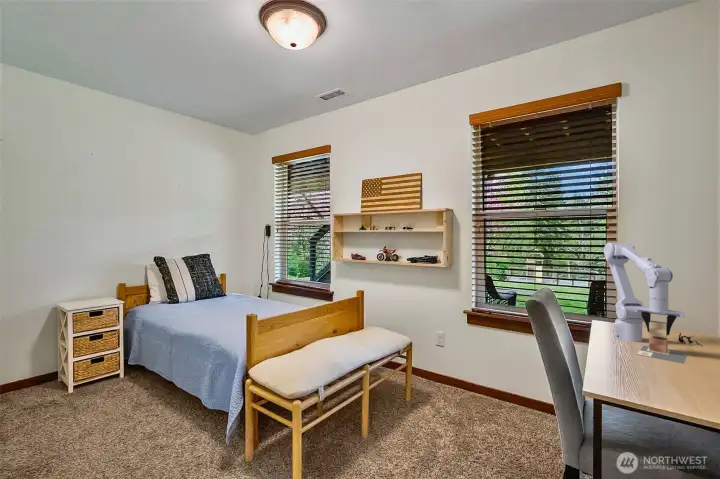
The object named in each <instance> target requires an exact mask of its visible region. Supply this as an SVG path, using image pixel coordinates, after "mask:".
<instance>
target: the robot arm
mask: <svg viewBox="0 0 720 479" xmlns="http://www.w3.org/2000/svg"><path fill="white" fill-rule="evenodd" d="M635 248H636V247H635V245H634V244H633V243H631V242H607V243H606V244H605V245H604V247H603V254H604V257H605V260H606V262H607V263H608V266H609V269H610V272H611V276H612V278H613V282H614V286H615V288H616V291H617V294H618V297H619V300H618V301H617V302H616V303H615V314H616V316H617V318H616V319H615V321H614V339H616V340H623V341H627V342H631V343H642V342H643V323H644V324H645V325H646V329H647V333H649V322H650V321H651V319H652V318H651V317H652V316H651V315H659V316H666V323H667V335H668V336H670V333H671V329H672V326H673V324H674V323H675V321H676V319H677V318H681V319H685V312H684V311H678V310H670V309H669V283H670V282H672V281H673V277H674V276H673V271H672V270H671V269H670V268H669V267H666V266H665V267H663V266H660V264H658V263H657V262H655V261H654V260H652V258H651V257H650V256H649V257H647V256H642V255H641V254H640V253H639V252H638V251H637V250H636V249H635ZM629 260H630V261H631V262H633V263H635V267H636V268H637V269H638V271H639V270H640V272H642V273H643V274H644V276H645V279H646V281H647V282H646V283H647V286H648V307H645V305H644V303H643V302H642V301H641V300H639V299H638V298H636V296H635V294H634V291H633V287H632V286H631V283H630V279H629V277H628V274H627V271H626V269H625V266H624V265H625V264H626V263H628V262H629Z"/></svg>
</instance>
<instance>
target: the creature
mask: <svg viewBox="0 0 720 479" xmlns="http://www.w3.org/2000/svg"><path fill="white" fill-rule="evenodd" d="M694 336H695V334H694V335H692V336H686V335H683V336H682V333H681V332H679V334H678V339H677V340H678V342H680V343H681V344H684V345H686V341H685V340H684V338H686V339H687V342H688V345H689V346H690V347H692V345H691V344H693V342H695V344H696V345H701V347H702V348H703V347H704V346H703V345H702V344H701V343H698V341H697V340H693V339H692V338H693V337H694Z"/></svg>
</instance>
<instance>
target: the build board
mask: <svg viewBox="0 0 720 479" xmlns="http://www.w3.org/2000/svg"><path fill="white" fill-rule="evenodd" d="M636 355H637V356H642V357H647V358H651V359H657V360H658V359H659V360H663V361H668V362H673V363H678V364H683V365H684V364H685V361H686V358H687V356H688V353H687V352H682V351H677V350H672V349H671V350H669V349H668V351H667V353H666V354H665V353H660V352H654V351H649V345H643V346H642V347H641V348H640V350H639V351H638V352H637V354H636Z"/></svg>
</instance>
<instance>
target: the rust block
mask: <svg viewBox="0 0 720 479" xmlns="http://www.w3.org/2000/svg"><path fill="white" fill-rule="evenodd" d="M668 339H669V338H668V337H667V338H663V337H656V336H650V335H649V338H648V346H649V351H654V352H660V353H665V354H666V353H667V351H668V350H669V347H668V342H669V341H668Z"/></svg>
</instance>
